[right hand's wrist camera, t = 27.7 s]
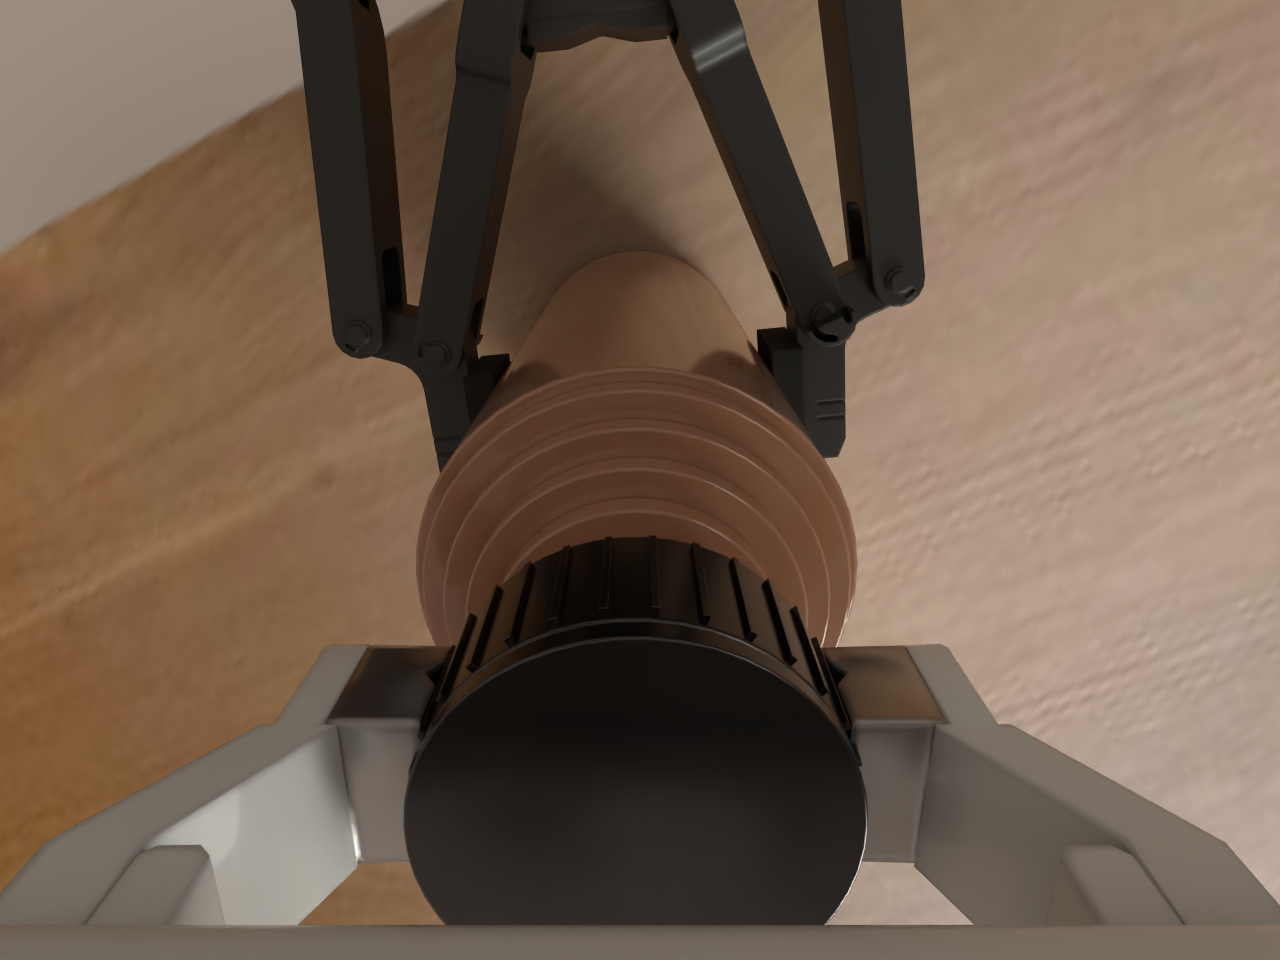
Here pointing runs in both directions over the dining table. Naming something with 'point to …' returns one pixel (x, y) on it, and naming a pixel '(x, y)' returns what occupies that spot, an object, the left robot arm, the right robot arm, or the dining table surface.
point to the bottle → (637, 451)
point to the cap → (635, 751)
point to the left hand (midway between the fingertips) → (654, 575)
